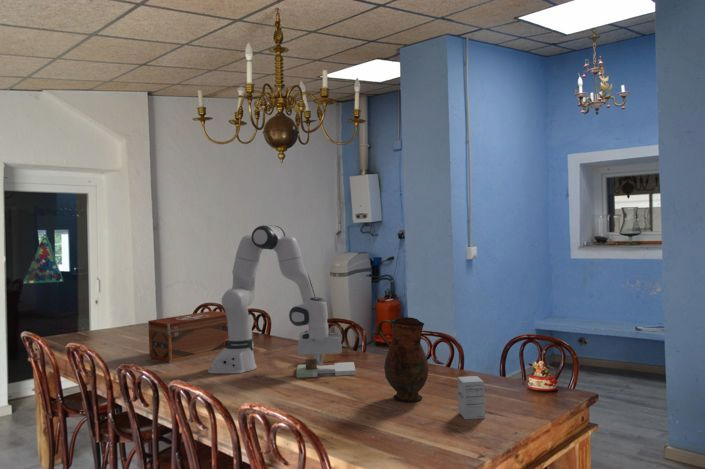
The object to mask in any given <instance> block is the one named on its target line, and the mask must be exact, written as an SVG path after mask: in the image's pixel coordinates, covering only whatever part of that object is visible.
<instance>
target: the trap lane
mask: <svg viewBox="0 0 705 469" xmlns="http://www.w3.org/2000/svg"><path fill="white" fill-rule="evenodd" d="M356 371H357V370H356V367H355V362H354V361H349V362H334V364H329V365H328V364H327V365H317V369H313V370H306V363H303V364H297V369H296V378H297V379H298V378H299V379H300V378H317V377H319V378H320V377H322V378H323V377H335V376H336V377H340V376H356V375H357V373H356Z"/></svg>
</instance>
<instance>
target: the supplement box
mask: <svg viewBox="0 0 705 469" xmlns="http://www.w3.org/2000/svg"><path fill="white" fill-rule="evenodd" d="M457 394H458V395H457V398H458V399H457V400H458V401H457V402H458V406H457V407H458V413H459V414H460V415H461V417H463V419H464V420H478V419H485V418H486V410H485V409H486V408H485V405H486V404H485V403H486V401H485V382H484V380H483V379H481V377H479V376H478V375H470V376H469V375H468V376H458V377H457Z"/></svg>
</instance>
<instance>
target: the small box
mask: <svg viewBox="0 0 705 469" xmlns="http://www.w3.org/2000/svg"><path fill="white" fill-rule="evenodd" d="M334 354H335V353H333V354H325V358H324V360H323V363H328V362H334V360H335V358H334ZM313 358H315V355H313ZM317 358H318V359H319V360H321V359H322V358H323V356H322V354H318V357H317Z"/></svg>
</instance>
